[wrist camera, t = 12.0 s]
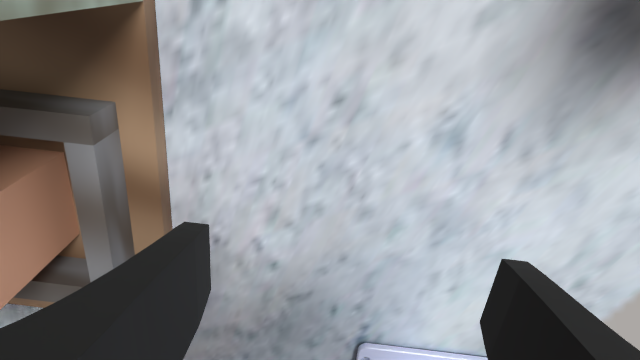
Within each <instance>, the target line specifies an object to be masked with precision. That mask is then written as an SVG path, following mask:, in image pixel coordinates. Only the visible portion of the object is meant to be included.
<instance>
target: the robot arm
mask: <svg viewBox="0 0 640 360" xmlns="http://www.w3.org/2000/svg"><path fill="white" fill-rule="evenodd" d="M210 291H211V276H210V244H209V225H208V224H199V223H190V222H184V223H182V224H180V225H179V226H177V227H176V228H174V229H173V230H171V231H170V232H168V233H167V234H165V235H164V236H162V237H161V238H160V239H158V240H157V241H155V242H154V243H152V244H151V245H149V246H148V247H146V248H145V249H143V250H142V251H140V252H139V253H137V254H136V255H134V256H133V257H131V258H130V259H128V260H127V261H125V262H124V263H122V264H121V265H119V266H117V267H116V268H114V269H112V270H111V271H109V272H107V273H106V274H104V275H102V276H101V277H99V278H97V279H96V280H94V281H92V282H91V283H89V284H87V285H86V286H84V287H82V288H81V289H79V290H77V291H75V292H74V293H72V294H70V295H68V296H66V297H65V298H63V299H61V300H59V301H57V302H55V303H53V304H51V305H49V306H47V307H45V308H43V309H41V310H39V311H37V312H35V313H33V314H31V315H29V316H27V317H25V318H23V319H21V320H19V321H16V322H14V323H12V324H10V325H7V326H5V327H3V328H0V360H183V358H184V356H185V354H186V352H187V350H188V348H189V346H190V343H191V341H192V339H193V337H194V335H195V333H196V331H197V329H198V326H199V324H200V321H201V318H202V315H203V312H204V309H205V306H206V303H207V300H208V297H209V294H210ZM480 325H481V330H482V335H483V340H484V345H485V349H486V354H487V357H479V356H471V355H463V354H454V353H446V352H438V351H430V350H421V349H413V348H405V347H397V346H388V345H380V344H372V343H364V344H361V345H360V346H359V348H358V352H357V358H356V360H640V351H639V350H638V349H637V348H635V347H633V346H632V345H631V344H630V343H628V342H627V341H626V340H625V339H623V338H622V337H620V336H619V335H618V334H617V333H616V332H614V331H613V330H612V329H610V328H609V327H608V326H607V325H605V324H604V323H603V322H602V321H600V320H599V319H598V318H597V317H596V316H594V315H593V314H592V313H591V312H589V311H588V310H587V309H586V308H584V307H583V306H582V305H581V304H580V303H578V302H577V301H576V300H575V299H574V298H572V297H571V296H570V295H569V294H568V293H566V292H565V291H564V290H563V289H562V288H560V287H559V286H558V285H557V284H555V283H554V282H553V281H552V280H551V279H549V278H548V277H547V276H546V275H544V274H543V273H542V272H541V271H539V270H538V269H537V268H535V267H534V266H533V265H531V264H530V263H528V262H525V261H517V260H508V259H502V260H501V263H500V266H499V268H498V271H497V274H496V277H495V280H494V283H493V286H492V288H491V291H490V294H489V297H488V300H487V303H486V305H485V308H484V311H483V314H482V317H481V320H480ZM364 357H368V358H364Z"/></svg>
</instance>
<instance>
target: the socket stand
mask: <svg viewBox="0 0 640 360" xmlns="http://www.w3.org/2000/svg"><path fill="white" fill-rule="evenodd" d="M0 145H4V146H13V147H22V148H31V149H40V150H49V151H58V152H64V156H65V161H66V166H67V171H68V176H69V181H70V186H71V191H72V196H73V201H74V206H75V212H76V217H77V222H78V227H79V232H80V234H79V235H78V236H77V237H76V238H75V239H73V240H72V241H71V242H70V243H69V244H68V245H67V246H66V247H65V248H64V249H63V250H62V251H61V252H60V253H59V254H58V255H57V256H56V257H55V258H54V259H53V260H52V261H51V262H50V263H48V264H47V265H46V266H45V267H44V268H43V269H42V270H41V271H40V272H39V273H38V274H37V275H36V276H35V277H34V278H33V279H32V280H31V281H30V282H29V283H28V284H27V285H26V286H24V287H23V288H22V289H21V290H20V291H19V292H18V293H17V294H16V295H15V296H14V297H13V298H12V299H11V300H10V301H9V302H8V303H9V304H18V305H26V306H34V307H42V308H45V307H47V306H49V305H51V304H53V303H55V302H57V301H59V300H61V299H63V298H65V297H66V296H68V295H70V294H72V293H74V292H75V291H77V290H79V289H81V288H82V287H84V286H86V285H87V284H89V283H91V282H92V281H94V280H96V279H97V278H99V277H101V276H102V275H104V274H106V273H107V272H109V271H111V270H112V269H114V268H116V267H117V266H119V265H121V264H122V263H124V262H125V261H127V260H128V259H130V258H131V257H133V256H134V255H136V254H137V253H139V252H140V251H142V250H143V249H145V248H146V247H148V246H149V245H151V244H152V243H154V242H155V241H157V240H158V239H160V238H161V237H162V236H164V235H165V234H167V233H168V232H170V231H171V230H172V220H171V207H170V194H169V181H168V168H167V155H166V142H165V129H164V116H163V103H162V90H161V77H160V64H159V51H158V38H157V25H156V12H155V0H0Z"/></svg>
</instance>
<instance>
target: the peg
mask: <svg viewBox="0 0 640 360" xmlns="http://www.w3.org/2000/svg"><path fill="white" fill-rule="evenodd" d="M79 234H80V232H79V227H78V222H77V217H76V212H75V206H74V201H73V196H72V191H71V186H70V181H69V176H68V171H67V166H66V161H65V156H64V152H58V151H49V150H40V149H31V148H22V147H13V146H4V145H0V310H1V309H2V308H3V307H4V306H5V305H6V304H7V303H8V302H9V301H10V300H11V299H12V298H13V297H14V296H15V295H16V294H17V293H18V292H19V291H20V290H21V289H22V288H23V287H24V286H26V285H27V284H28V283H29V282H30V281H31V280H32V279H33V278H34V277H35V276H36V275H37V274H38V273H39V272H40V271H41V270H42V269H43V268H44V267H45V266H46V265H47V264H48V263H50V262H51V261H52V260H53V259H54V258H55V257H56V256H57V255H58V254H59V253H60V252H61V251H62V250H63V249H64V248H65V247H66V246H67V245H68V244H69V243H70V242H71V241H72V240H73V239H75V238H76V237H77V236H78V235H79Z"/></svg>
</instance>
